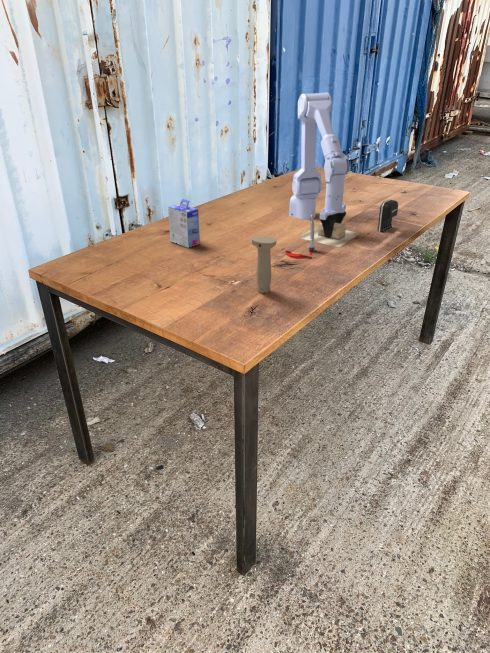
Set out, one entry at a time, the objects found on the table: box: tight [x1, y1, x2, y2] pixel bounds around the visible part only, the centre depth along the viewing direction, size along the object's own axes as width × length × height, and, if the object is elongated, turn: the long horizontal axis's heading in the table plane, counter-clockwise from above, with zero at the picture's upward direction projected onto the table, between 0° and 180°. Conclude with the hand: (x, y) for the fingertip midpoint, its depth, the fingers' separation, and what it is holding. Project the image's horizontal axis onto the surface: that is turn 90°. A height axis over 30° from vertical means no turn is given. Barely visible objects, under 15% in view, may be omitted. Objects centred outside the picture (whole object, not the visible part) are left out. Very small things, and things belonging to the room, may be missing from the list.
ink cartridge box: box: [167, 198, 201, 249], centre depth 168 cm, size 10×6×14 cm, turn 47°
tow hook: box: [285, 215, 316, 259], centre depth 158 cm, size 8×13×9 cm
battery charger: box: [377, 199, 399, 234], centre depth 173 cm, size 7×4×11 cm, turn 137°
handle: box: [251, 235, 277, 294], centre depth 135 cm, size 5×6×15 cm
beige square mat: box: [296, 225, 361, 248], centre depth 172 cm, size 16×16×1 cm
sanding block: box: [317, 222, 347, 240], centre depth 170 cm, size 8×4×4 cm, turn 53°
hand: (331, 234), depth 171 cm, fingers closed on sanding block, 4 cm apart
